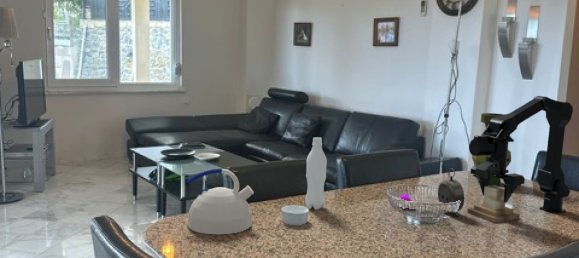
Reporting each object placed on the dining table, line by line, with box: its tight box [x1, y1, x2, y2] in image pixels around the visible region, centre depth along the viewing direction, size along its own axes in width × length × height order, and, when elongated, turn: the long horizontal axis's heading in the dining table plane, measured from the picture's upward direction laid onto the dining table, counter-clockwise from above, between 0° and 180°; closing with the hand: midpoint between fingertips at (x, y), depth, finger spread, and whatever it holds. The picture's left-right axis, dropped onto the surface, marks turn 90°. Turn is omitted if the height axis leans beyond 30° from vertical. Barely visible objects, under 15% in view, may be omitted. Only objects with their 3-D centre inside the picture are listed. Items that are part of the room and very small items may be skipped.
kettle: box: [186, 168, 255, 236], centre depth 169 cm, size 20×21×18 cm
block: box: [482, 185, 506, 210], centre depth 187 cm, size 5×5×7 cm
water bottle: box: [304, 136, 328, 211], centre depth 189 cm, size 7×7×25 cm
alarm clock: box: [437, 167, 465, 218], centre depth 188 cm, size 11×5×16 cm, turn 14°
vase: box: [471, 112, 512, 186], centre depth 233 cm, size 16×16×30 cm
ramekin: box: [281, 205, 310, 226], centre depth 175 cm, size 9×9×4 cm
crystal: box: [398, 192, 413, 201], centre depth 195 cm, size 5×5×5 cm
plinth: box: [467, 203, 521, 224], centre depth 188 cm, size 12×12×3 cm
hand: (494, 198), depth 187 cm, fingers open, 9 cm apart
